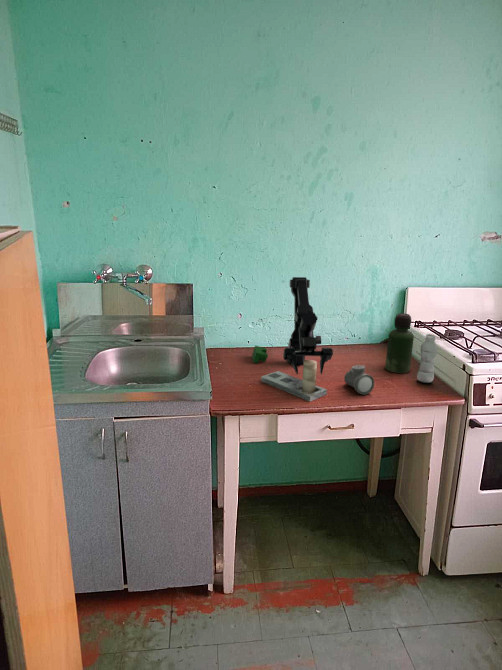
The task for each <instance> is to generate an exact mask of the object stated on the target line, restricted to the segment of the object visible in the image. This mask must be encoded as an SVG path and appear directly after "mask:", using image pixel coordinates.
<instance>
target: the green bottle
mask: <svg viewBox="0 0 502 670" xmlns="http://www.w3.org/2000/svg"><path fill="white" fill-rule="evenodd" d="M393 325H394V328H395V329H392V330H391V331H389V333H388V338H387V339H388V340H387V349H386V358H385V366H384V368H385V369H386V370H387V371H388V372H390V373H397V374H406V373H409V372H410V370H411V364H412V363H411V362H412V354H413V347H414V339H415V336H414V334H413V332H412V331H410V329H411V326H412V316H411V315H410V314H409V313H402V312H401V313H398V314H396V316H395V317H394V324H393Z"/></svg>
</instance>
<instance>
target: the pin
mask: <svg viewBox="0 0 502 670" xmlns="http://www.w3.org/2000/svg"><path fill="white" fill-rule="evenodd" d="M302 366H303V367H302V380H303V381H302V391H303V392H305V393H308V394H312V393H314V392H315V385H316V382H317V366H318V362H317V361H316V360H314V359H313V360H312V359H305V361H304V363H303V365H302ZM316 386H317V385H316Z"/></svg>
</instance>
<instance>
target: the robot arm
mask: <svg viewBox="0 0 502 670" xmlns="http://www.w3.org/2000/svg"><path fill="white" fill-rule="evenodd" d="M310 281H311V280H310V279H307V276H305V277H303V276H301V277H300V276H293V277H292V278H291V279H289V288H290V292H291V294H292V296H293V297H294V298H293V299H294V301H293V302H294V319H293V321H294V329H293V331H292V332H291V334H290V338H289V341H288V347H285V348H284V349H283V353H282V354H283V355H282V356H283V357H282V359H283V360H284V361H286V362H287V364H290V365H291V367H292V368H293V370H294V372H295V374H296V375H298V374H299V369H298V367H301V366H303V363H304V361H305V360H306V357H320V359H319V373H320V375H322V374H323V371H324V367H325V364H326V363H327V362H328V361H330V360H332V357H333V354H334V350H333V348H332V347H322V348H321V350H317V346H318V345H321V344H322V335H314V334H315V333H314V330H315V328H316V325H317V324H316V323H317V321H318V316H317V315H316V313H315V312H314V307H313V306H312V305H311V304H310V301H309V300H310V299H309V290H308V289H309V288H310V286H311V285H310V284H311V283H310Z"/></svg>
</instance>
